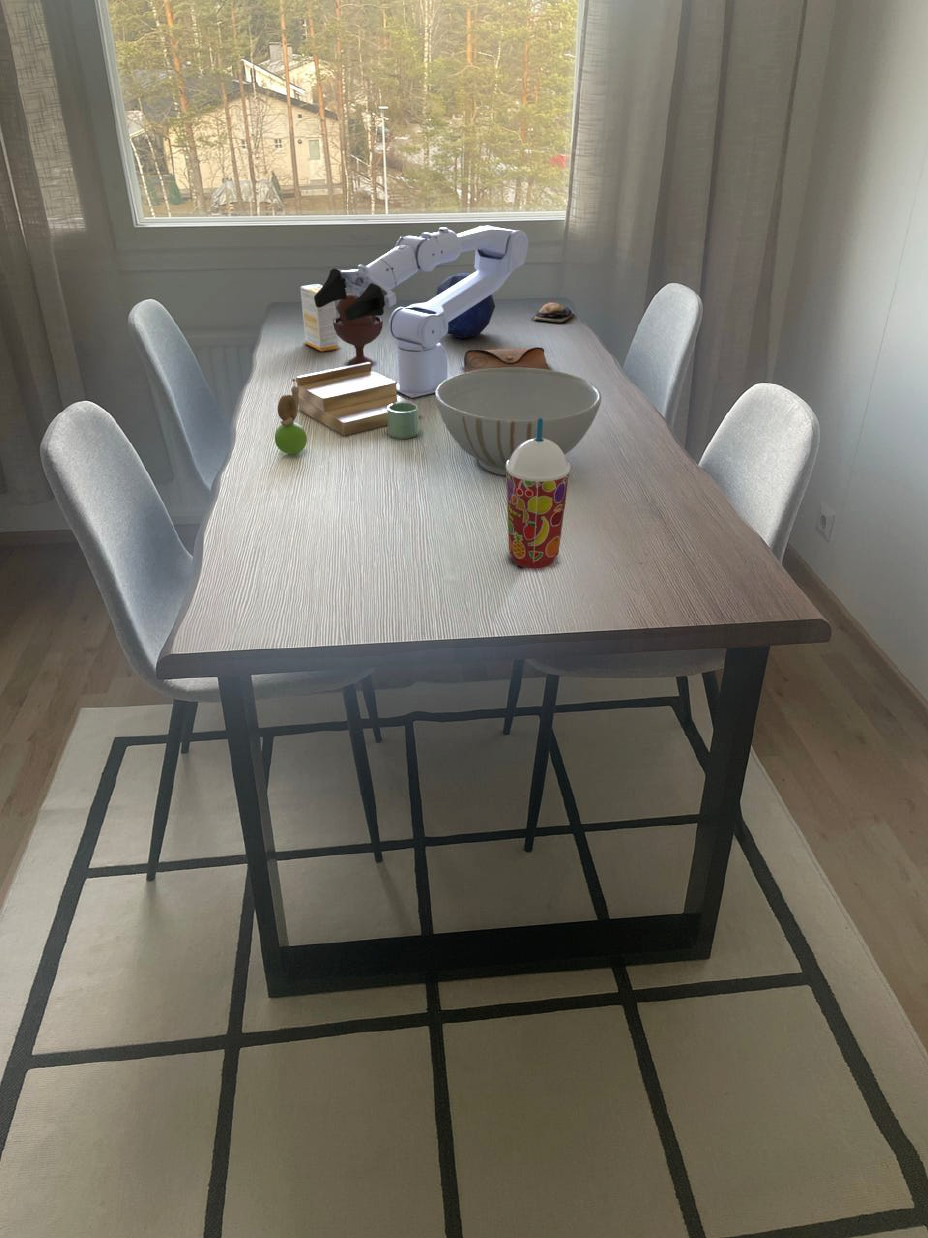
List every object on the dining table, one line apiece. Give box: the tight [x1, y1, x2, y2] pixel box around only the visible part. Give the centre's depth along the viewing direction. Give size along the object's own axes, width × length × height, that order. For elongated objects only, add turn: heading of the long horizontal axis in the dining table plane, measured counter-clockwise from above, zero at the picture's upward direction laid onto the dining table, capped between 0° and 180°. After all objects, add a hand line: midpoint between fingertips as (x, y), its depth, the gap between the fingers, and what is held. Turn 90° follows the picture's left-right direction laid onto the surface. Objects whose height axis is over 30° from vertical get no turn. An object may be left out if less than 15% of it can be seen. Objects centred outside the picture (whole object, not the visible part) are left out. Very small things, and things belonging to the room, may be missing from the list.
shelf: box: [295, 362, 419, 437], centre depth 173 cm, size 17×16×6 cm
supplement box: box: [299, 283, 339, 352], centre depth 210 cm, size 8×5×13 cm, turn 34°
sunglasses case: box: [463, 346, 550, 373], centre depth 198 cm, size 18×7×7 cm
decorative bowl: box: [434, 367, 602, 476], centre depth 152 cm, size 27×27×12 cm
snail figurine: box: [274, 378, 308, 455], centre depth 155 cm, size 5×6×12 cm
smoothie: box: [505, 418, 572, 570], centre depth 121 cm, size 8×8×20 cm
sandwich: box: [533, 302, 573, 323], centre depth 235 cm, size 11×8×4 cm
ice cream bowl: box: [333, 293, 384, 366], centre depth 198 cm, size 11×11×15 cm
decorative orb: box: [433, 271, 496, 340], centre depth 218 cm, size 14×15×15 cm
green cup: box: [387, 402, 420, 440], centre depth 165 cm, size 6×6×5 cm
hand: (331, 308), depth 163 cm, fingers open, 7 cm apart
